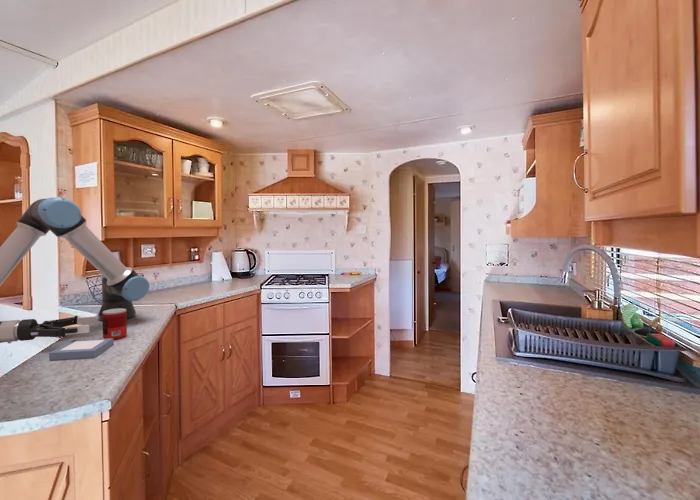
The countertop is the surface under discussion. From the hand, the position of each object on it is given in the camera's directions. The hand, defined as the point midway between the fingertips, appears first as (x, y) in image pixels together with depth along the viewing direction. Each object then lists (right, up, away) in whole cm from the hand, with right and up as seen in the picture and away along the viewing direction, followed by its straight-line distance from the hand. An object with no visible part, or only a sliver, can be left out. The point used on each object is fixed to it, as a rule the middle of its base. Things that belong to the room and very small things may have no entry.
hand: (93, 323), depth 127 cm
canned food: (+6, -7, +4) cm, 9 cm away
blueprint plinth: (+6, -7, -12) cm, 16 cm away
